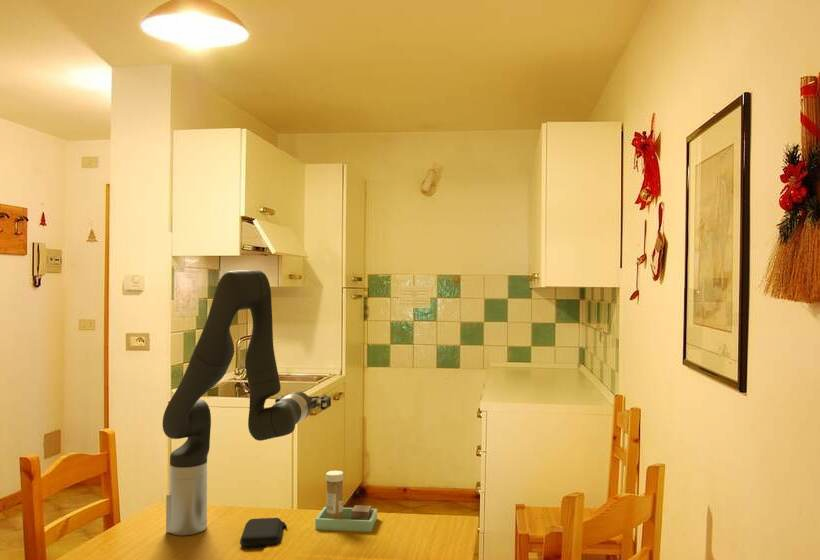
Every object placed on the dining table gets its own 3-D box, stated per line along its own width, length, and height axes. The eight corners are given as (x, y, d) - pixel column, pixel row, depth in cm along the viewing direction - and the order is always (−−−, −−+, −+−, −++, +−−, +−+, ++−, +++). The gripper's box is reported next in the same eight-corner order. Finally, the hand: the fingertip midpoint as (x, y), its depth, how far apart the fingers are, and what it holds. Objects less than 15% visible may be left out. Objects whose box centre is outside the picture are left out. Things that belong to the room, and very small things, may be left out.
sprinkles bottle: (346, 524, 166) (346, 473, 166) (330, 528, 164) (330, 475, 164) (338, 519, 170) (338, 468, 170) (323, 522, 167) (323, 471, 168)
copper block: (351, 526, 165) (351, 511, 165) (354, 520, 169) (354, 505, 169) (368, 527, 164) (368, 511, 164) (371, 520, 169) (371, 505, 169)
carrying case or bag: (283, 549, 153) (287, 526, 167) (284, 536, 153) (287, 515, 167) (238, 551, 151) (246, 528, 166) (238, 538, 151) (246, 516, 166)
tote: (315, 531, 163) (315, 519, 163) (324, 518, 172) (324, 506, 172) (371, 534, 161) (371, 521, 161) (377, 520, 170) (377, 508, 170)
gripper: (320, 394, 160) (335, 384, 176) (266, 393, 162) (285, 383, 178) (320, 424, 160) (335, 411, 176) (266, 422, 162) (285, 410, 178)
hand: (310, 397), depth 177 cm, fingers open, 8 cm apart
